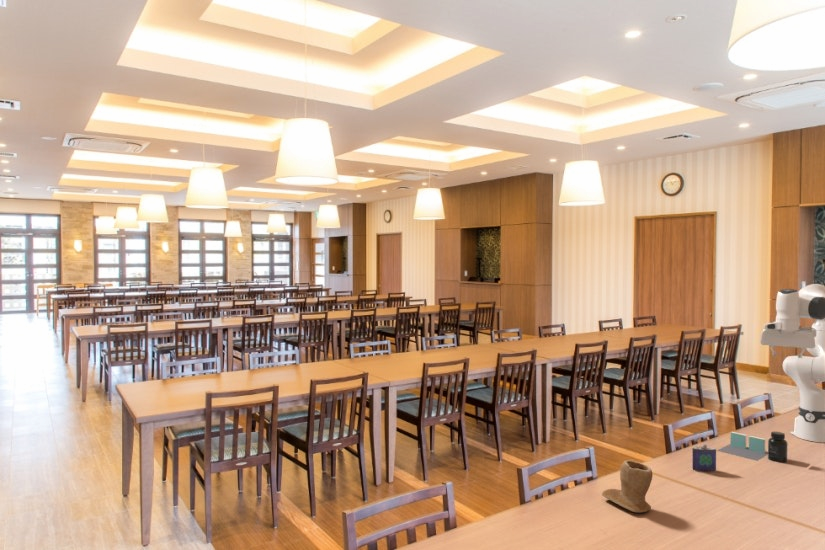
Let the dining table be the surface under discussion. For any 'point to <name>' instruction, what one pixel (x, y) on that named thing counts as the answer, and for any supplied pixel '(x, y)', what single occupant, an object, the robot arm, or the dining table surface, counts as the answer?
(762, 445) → the tile
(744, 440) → the tile
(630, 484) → the brown boot
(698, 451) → the flask
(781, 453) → the supplement bottle
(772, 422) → the dining table surface
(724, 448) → the mat
